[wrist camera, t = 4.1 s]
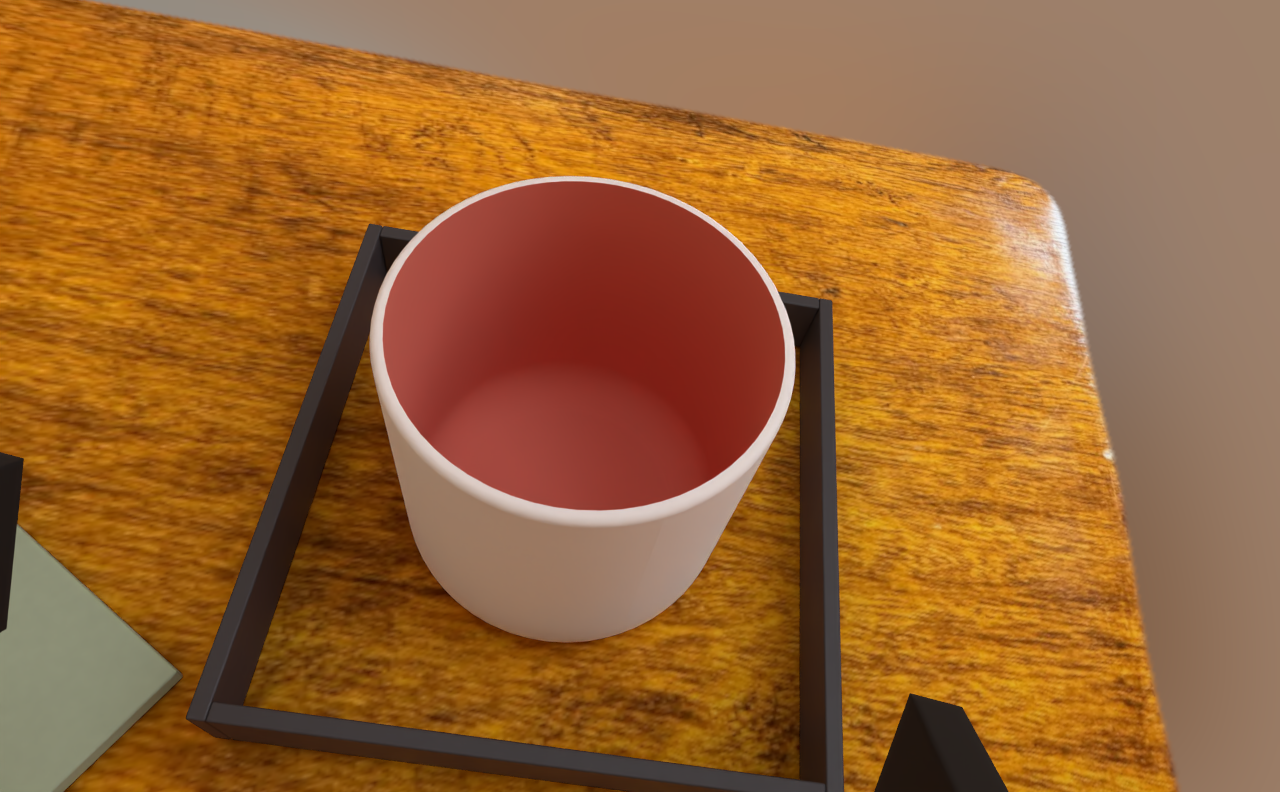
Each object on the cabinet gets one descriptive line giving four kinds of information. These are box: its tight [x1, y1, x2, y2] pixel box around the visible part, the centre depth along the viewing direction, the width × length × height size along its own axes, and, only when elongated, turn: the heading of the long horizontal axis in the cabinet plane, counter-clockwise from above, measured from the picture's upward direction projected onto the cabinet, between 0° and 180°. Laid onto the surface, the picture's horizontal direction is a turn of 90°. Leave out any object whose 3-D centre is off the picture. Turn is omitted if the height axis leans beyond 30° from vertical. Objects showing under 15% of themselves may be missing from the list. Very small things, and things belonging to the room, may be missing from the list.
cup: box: [370, 176, 795, 643], centre depth 24 cm, size 10×10×10 cm
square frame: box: [186, 224, 844, 792], centre depth 27 cm, size 17×17×2 cm
